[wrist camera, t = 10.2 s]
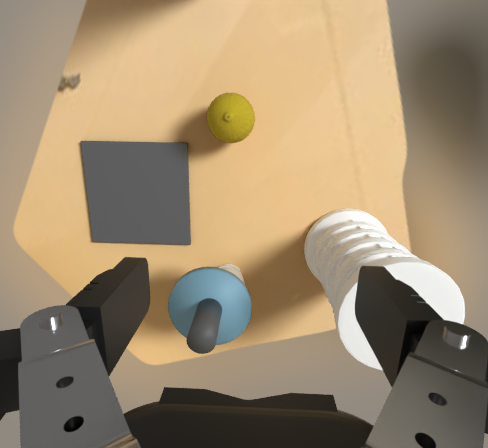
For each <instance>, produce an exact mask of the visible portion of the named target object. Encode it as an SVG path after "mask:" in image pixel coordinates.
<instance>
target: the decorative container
mask: <svg viewBox="0 0 488 448" xmlns="http://www.w3.org/2000/svg"><path fill="white" fill-rule="evenodd" d="M304 254H305V259H306V263H307V265H308V267H309V269H310V271H311V273H312V274H313V275H314V276H315V277H316V278H317V279H318V280H319V281H320V282H321V284H322V286H323V289H324V290H325V292H326V296H327V298H328V300H329V303H330V304H331V306H332V308H333V313H334V318H335V323H336V329H337V332H338V334H339V336H340V339H341V340H342V342H343V344H344V346H345V348H346V350H347V351H348V352H349V353H350V354H351V355H352V356H353V357H354V358H355V359H356V360H358V361H360V362H362V363H363V364H365V365H367V366H369V367H372V368H376V369H379V370H383V369H382V367H381V366H380V364H379V362H378V360H377V358H376V356H375V354H374V352H373V350H372V349H371V347H370V345H369V343H368V341H367V339H366V337H365V335H364V333H363V331H362V330H361V328H360V326H359V324H358V322H357V320H356V316H355V298H356V291H357V284H358V277H359V271H360V268H361V266H383V267H385V268H386V269H387V270H388V271H389V272H390V274H391V275H392V276H393V277H394V278H395V279H396V280H400V281H402V282H404V283H405V284H407V285H409V286H411V287H412V288H413V289H414V290H415V291H416V292H417V293H418V294H419V296H421V297H422V298H423V299H424V300H425V301H426V303H428V304H429V305H430V306H431V307H432V308H433V309H434V310H435V311H436V312H437V313H438V314H439V315H440V316H441V317H442V318H443V319H444V320H448V321H453V322H457V323H460V324H463V322H464V318H465V306H464V299H463V296H462V294H461V292H460V289H459V287H458V286H457V285H456V283H455V282H454V281H453V280H452V279H451V278H450V276H449V275H447V274H446V273H444V272H443V271H442V270H440V269H439V268H437V267H436V266H434V265H432V264H431V263H429V262H427V261H424V260H420V259H419V258H418V257H416V256H415V255H413V254H411V253H410V252H409V251H408V250H407V249H406V248H405V247H403V246H402V245H401V244H399V243H397V242H396V241H395V239H393V238H392V237H390V236H389V235H388V234H387V231H386V229H385V227H384V226H383V225H382V224H381V223H380V222H379V221H378V220H377V219H376V218H375V217H373V216H371V215H370V214H368V213H367V212H364V211H361V210H358V209H347V208H344V209H339V210H335V211H332V212H330V213H328V214H326V215H324V216H322V217H321V218H320V219H319V220H318V221H316V222H315V223H314V225H313V226H312V227H311V229H310V230H309V232H308V234H307V237H306V240H305V245H304Z"/></svg>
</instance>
